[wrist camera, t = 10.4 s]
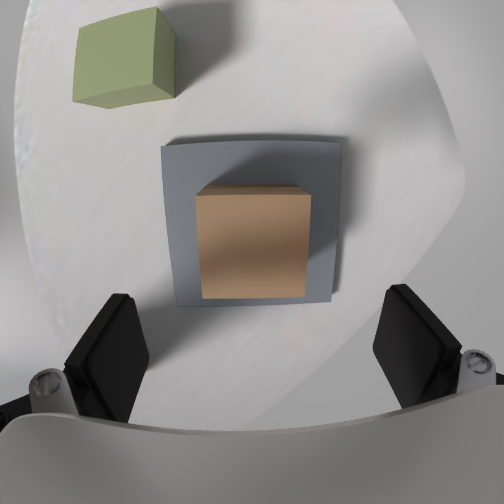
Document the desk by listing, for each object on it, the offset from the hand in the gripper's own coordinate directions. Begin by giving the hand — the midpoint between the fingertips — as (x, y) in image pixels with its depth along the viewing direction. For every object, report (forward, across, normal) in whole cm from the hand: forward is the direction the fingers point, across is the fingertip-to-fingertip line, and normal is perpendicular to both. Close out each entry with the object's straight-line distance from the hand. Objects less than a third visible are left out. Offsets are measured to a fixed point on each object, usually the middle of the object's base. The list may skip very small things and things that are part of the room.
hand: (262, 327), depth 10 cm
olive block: (+15, +9, -13) cm, 22 cm away
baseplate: (+15, 0, +1) cm, 15 cm away
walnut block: (+14, 0, 0) cm, 14 cm away
